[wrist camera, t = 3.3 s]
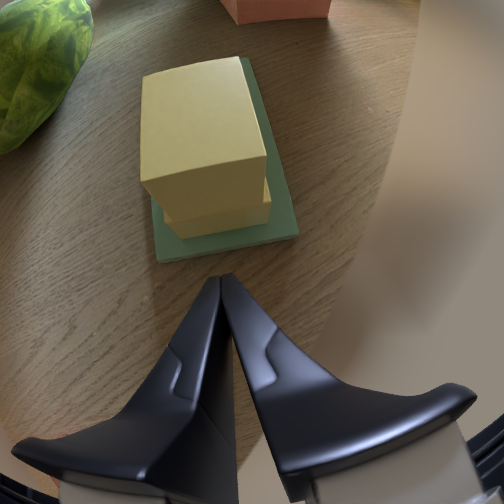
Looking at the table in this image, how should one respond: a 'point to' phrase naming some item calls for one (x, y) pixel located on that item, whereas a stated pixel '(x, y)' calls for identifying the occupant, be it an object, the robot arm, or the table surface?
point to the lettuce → (38, 61)
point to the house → (275, 9)
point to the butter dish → (246, 236)
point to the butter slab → (200, 139)
